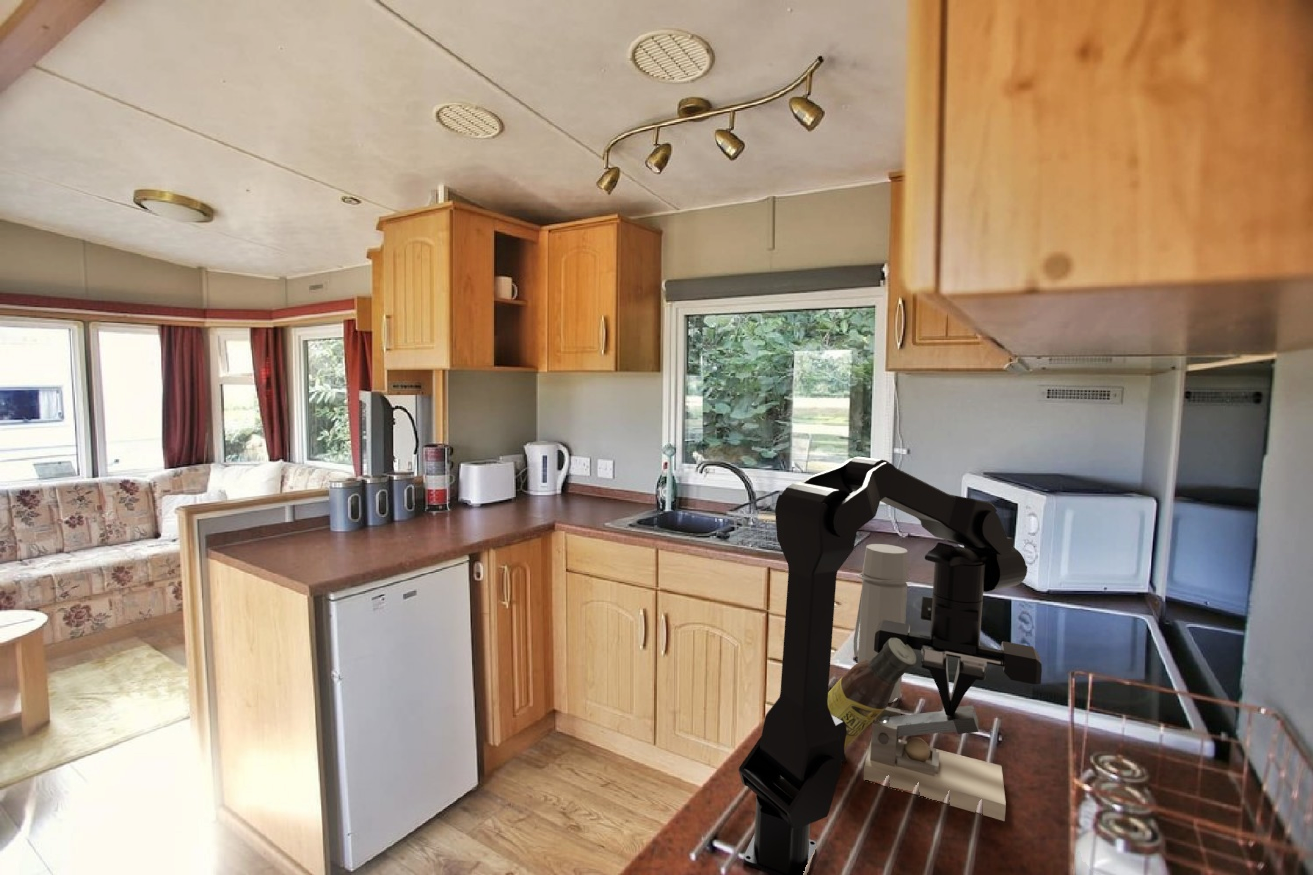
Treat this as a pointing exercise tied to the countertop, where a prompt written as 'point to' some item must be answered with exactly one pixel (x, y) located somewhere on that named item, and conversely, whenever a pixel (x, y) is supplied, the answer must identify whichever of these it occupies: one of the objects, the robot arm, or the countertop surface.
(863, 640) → the water bottle
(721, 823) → the countertop surface
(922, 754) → the walnut
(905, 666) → the sauce bottle
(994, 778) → the nutcracker base
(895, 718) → the nutcracker lever
